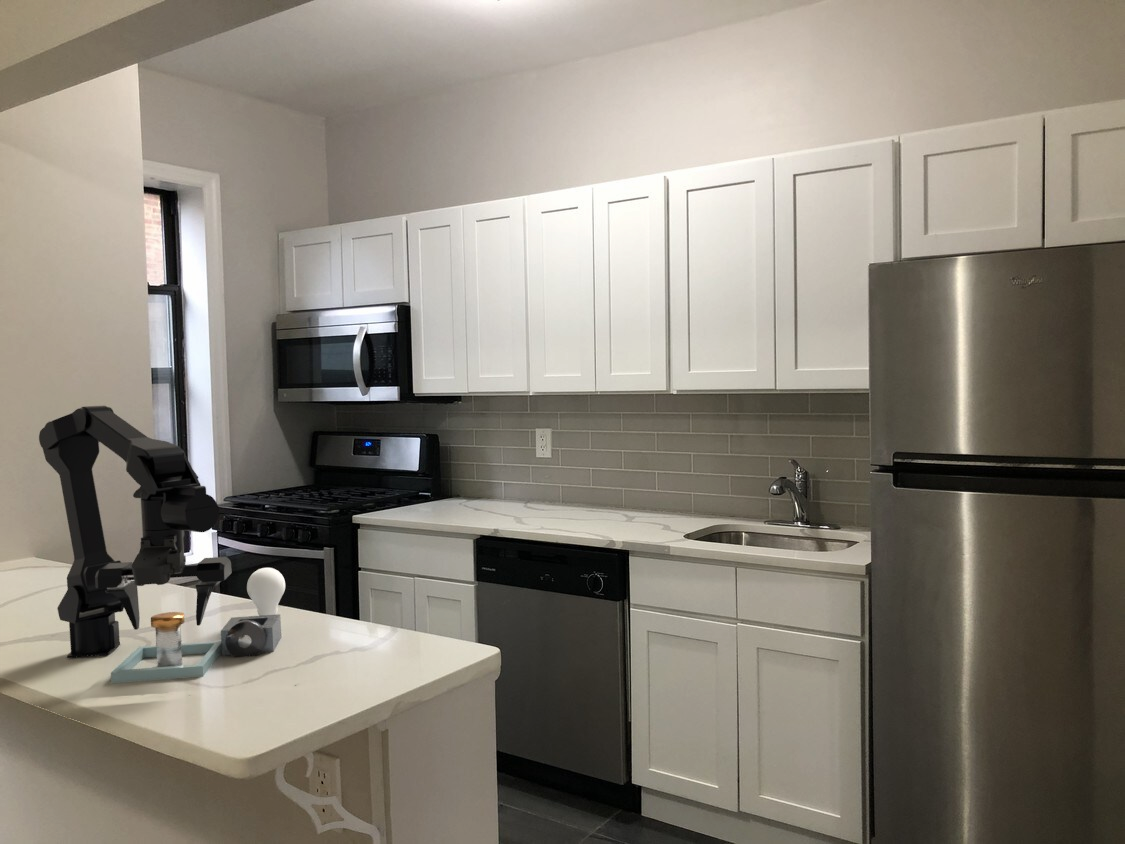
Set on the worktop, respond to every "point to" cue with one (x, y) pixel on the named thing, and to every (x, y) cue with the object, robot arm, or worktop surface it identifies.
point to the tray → (129, 674)
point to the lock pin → (168, 638)
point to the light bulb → (266, 590)
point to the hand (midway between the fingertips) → (168, 626)
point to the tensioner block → (251, 635)
